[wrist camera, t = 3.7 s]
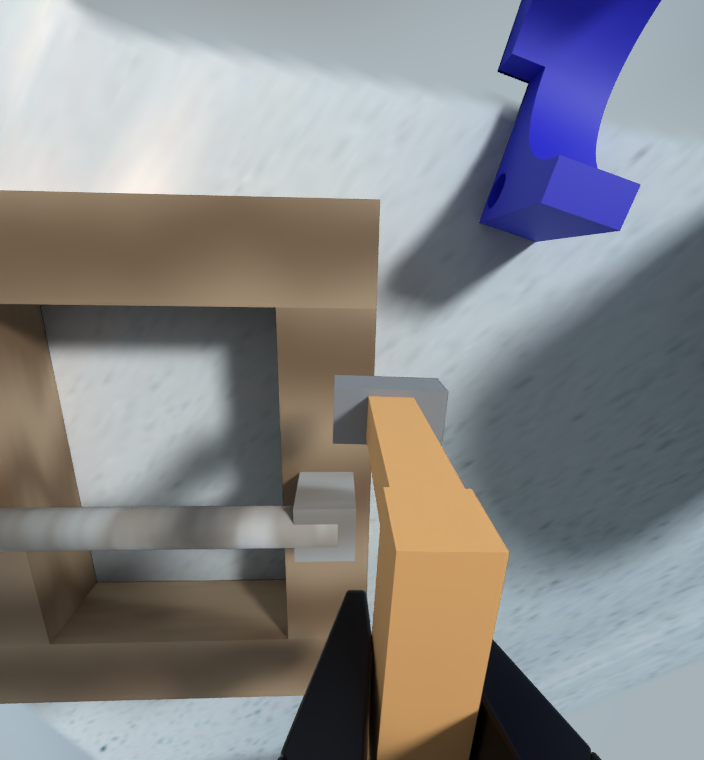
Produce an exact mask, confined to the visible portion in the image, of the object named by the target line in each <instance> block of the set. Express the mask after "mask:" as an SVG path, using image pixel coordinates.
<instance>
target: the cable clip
mask: <svg viewBox="0 0 704 760" xmlns="http://www.w3.org/2000/svg"><path fill="white" fill-rule="evenodd" d="M660 1H661V0H521V3H520V6H519V9H518V12H517V15H516V18H515V21H514V24H513V26H512V30H511V32H510V35H509V39H508V41H507V44H506V47H505V50H504V53H503V56H502V59H501V62H500V65H499V68H498V72H499V73H502V74H504V75H507V76H509V77H512V78H515V79H517V80H520V81H522V82H525V83H528V86H527V88H526V91H525V94H524V97H523V100H522V102H521V105H520V108H519V109H520V111H519V114H518V117H517V119H516V122H515V125H514V128H513V130H512V133H511V136H510V139H509V142H508V144H507V147H506V150H505V153H504V155H503V158H502V161H501V164H500V167H499V169H498V172H497V175H496V178H495V180H494V183H493V186H492V189H491V192H490V194H489V197H488V200H487V203H486V205H485V208H484V211H483V214H482V216H481V219H480V222H479V223H482V224H485V225H488V226H491V227H494V228H497V229H500V230H503V231H506V232H509V233H511V234H514V235H517V236H520V237H523V238H526V239H529V240H532V241H535V242H538V241H545V240H553V239H561V238H568V237H576V236H583V235H591V234H599V233H606V232H614V231H620V229H621V227H622V225H623V223H624V220H625V218H626V216H627V214H628V212H629V209H630V207H631V205H632V203H633V201H634V198H635V196H636V194H637V192H638V190H639V187H640V184H638V183H635V182H632V181H630V180H627V179H624V178H621V177H619V176H616V175H613V174H611V173H608V172H605V171H602V170H600V169H598V168H597V164H596V142H597V136H598V131H599V127H600V123H601V119H602V116H603V113H604V109H605V107H606V104H607V101H608V99H609V96H610V94H611V91H612V89H613V87H614V84H615V82H616V80H617V78H618V76H619V73H620V71H621V69H622V67H623V65H624V63H625V61H626V59H627V57H628V55H629V54H630V52H631V50H632V48H633V46H634V44H635V43H636V41H637V39H638V37H639V35H640V34H641V32H642V30H643V29H644V27H645V25H646V24H647V22H648V20H649V19H650V17H651V16H652V14H653V12H654V11H655V9H656V8H657V6H658V5H659V3H660Z"/></svg>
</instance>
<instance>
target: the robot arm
mask: <svg viewBox="0 0 704 760" xmlns="http://www.w3.org/2000/svg"><path fill="white" fill-rule="evenodd" d="M371 672H372V634H371V626H370V618H369V610H368V602H367V594H366V592H365V590H348V591H347V592H346V594H345V596H344V598H343V601H342V603H341V606H340V608H339V611H338V613H337V616H336V618H335V621H334V623H333V625H332V628H331V630H330V633H329V635H328V638H327V640H326V643H325V645H324V648H323V650H322V653H321V655H320V657H319V660H318V662H317V665H316V667H315V670H314V672H313V675H312V677H311V680H310V682H309V685H308V687H307V689H306V692H305V694H304V697H303V699H302V702H301V704H300V707H299V709H298V712H297V714H296V717H295V719H294V721H293V724H292V726H291V729H290V731H289V734H288V736H287V739H286V741H285V744H284V746H283V749H282V751H281V757H279V758H278V760H367V757H368V736H369V714H370V693H371ZM469 760H601V759H600V758H599V756H597V754H596V753H594V752H592V753H591V749H590V747H589V746H588V745H587V743H586V742H585V741H584V740H583V739H582V738H581V737H580V736H579V734H578V733H577V732H576V731H575V730H574V729H573V728H572V727H571V726H570V724H569V723H568V722H567V721H566V720H565V719H564V718H563V717H562V716H561V714H560V713H559V712H558V711H557V710H556V709H555V708H554V707H553V706H552V704H551V703H550V702H549V701H548V700H547V699H546V698H545V697H544V696H543V695H542V693H541V692H540V691H539V690H538V689H537V688H536V687H535V686H534V685H533V683H532V682H531V681H530V680H529V679H528V678H527V677H526V676H525V675H524V673H523V672H522V671H521V670H520V669H519V668H518V667H517V666H516V665H515V663H514V662H513V661H512V660H511V659H510V658H509V657H508V656H507V655H506V653H505V652H504V651H503V650H502V649H501V648H500V647H499V646H498V645H497V643H496V642H495V641H494V640H493V639H492V644H491V649H490V654H489V660H488V665H487V670H486V675H485V680H484V685H483V690H482V695H481V700H480V705H479V711H478V716H477V721H476V726H475V731H474V736H473V741H472V746H471V751H470V756H469Z"/></svg>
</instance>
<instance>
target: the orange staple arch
mask: <svg viewBox="0 0 704 760" xmlns="http://www.w3.org/2000/svg"><path fill="white" fill-rule="evenodd" d="M447 399H448V390H447V389H446V388H445V387H444V386H443V384H442V383H441V382H440V381H439V380H438V379H437V378H413V377H383V376H352V375H335V383H334V413H333V444H364V445H367V447H368V453H369V459H370V465H371V471H372V478H373V484H374V490H375V496H376V502H377V508H378V514H379V521H380V537H379V550H378V563H377V576H376V588H375V601H374V614H373V627H372V672H371V693H370V714H369V736H368V757H367V760H469V756H470V751H471V746H472V741H473V736H474V731H475V726H476V721H477V716H478V711H479V705H480V700H481V695H482V690H483V685H484V680H485V675H486V670H487V665H488V660H489V654H490V649H491V644H492V639H493V634H494V629H495V624H496V619H497V614H498V609H499V604H500V598H501V593H502V588H503V583H504V578H505V573H506V568H507V563H508V558H509V551H508V549H507V547H506V546H505V544H504V542H503V541H502V539H501V537H500V536H499V534H498V532H497V531H496V529H495V527H494V526H493V524H492V522H491V520H490V519H489V517H488V515H487V514H486V512H485V510H484V509H483V507H482V505H481V504H480V502H479V500H478V499H477V497H476V495H475V493H474V492H473V490H472V489H465V487H464V485H463V483H462V482H461V480H460V478H459V476H458V475H457V473H456V471H455V469H454V468H453V466H452V464H451V462H450V460H449V459H448V457H447V455H446V453H445V452H444V450H443V448H442V439H443V431H444V423H445V415H446V407H447Z"/></svg>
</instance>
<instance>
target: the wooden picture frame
mask: <svg viewBox="0 0 704 760" xmlns="http://www.w3.org/2000/svg"><path fill="white" fill-rule="evenodd" d="M379 216H380V200H375V199H333V198H292V197H251V196H209V195H168V194H127V193H85V192H44V191H3V190H0V704H5V703H43V702H79V701H116V700H152V699H189V698H225V697H262V696H298V695H304V694H305V692H306V689H307V687H308V685H309V682H310V680H311V677H312V675H313V672H314V670H315V667H316V665H317V662H318V660H319V657H320V655H321V653H322V650H323V648H324V645H325V643H326V640H327V638H328V635H329V633H330V630H331V628H332V625H333V623H334V621H335V618H336V616H337V613H338V611H339V608H340V606H341V603H342V601H343V598H344V596H345V594H346V592H347V591H348V590H365V592H366V594H367V573H368V543H369V513H370V484H371V465H370V459H369V453H368V447H367V445H364V444H333V413H334V383H335V375H352V376H374V365H375V335H376V305H377V275H378V246H379ZM40 304H49V305H127V306H205V307H276V330H277V356H278V382H279V408H280V434H281V460H282V486H283V506H179V507H81V503H80V498H79V493H78V488H77V483H76V478H75V474H74V469H73V464H72V459H71V454H70V449H69V445H68V440H67V435H66V430H65V425H64V420H63V416H62V411H61V406H60V401H59V396H58V391H57V386H56V382H55V377H54V372H53V367H52V362H51V357H50V353H49V348H48V343H47V338H46V333H45V328H44V323H43V319H42V314H41V309H40ZM254 548H285V564H286V580H232V581H167V582H102V583H97V580H96V575H95V571H94V566H93V561H92V556H91V551H90V550H172V549H254Z"/></svg>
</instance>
